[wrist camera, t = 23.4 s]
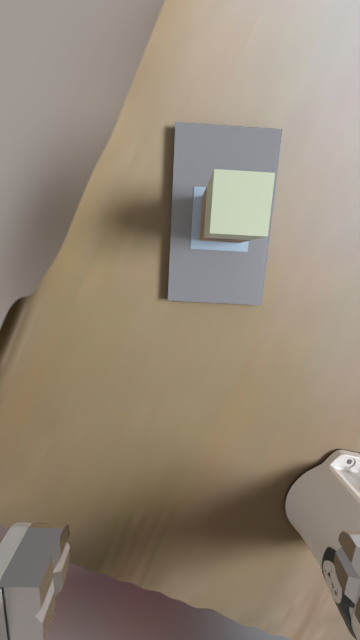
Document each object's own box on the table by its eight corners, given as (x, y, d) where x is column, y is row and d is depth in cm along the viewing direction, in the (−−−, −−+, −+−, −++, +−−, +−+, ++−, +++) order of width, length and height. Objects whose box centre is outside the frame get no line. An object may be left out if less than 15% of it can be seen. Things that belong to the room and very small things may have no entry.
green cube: (257, 188, 27) (275, 172, 22) (251, 240, 28) (267, 236, 23) (207, 185, 27) (214, 168, 22) (203, 237, 28) (209, 233, 23)
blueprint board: (278, 134, 32) (282, 128, 31) (258, 303, 36) (261, 305, 35) (175, 127, 31) (175, 121, 30) (167, 299, 36) (167, 300, 35)
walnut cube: (244, 198, 32) (257, 188, 27) (240, 242, 33) (251, 240, 28) (202, 196, 32) (207, 184, 27) (199, 240, 33) (203, 237, 28)
